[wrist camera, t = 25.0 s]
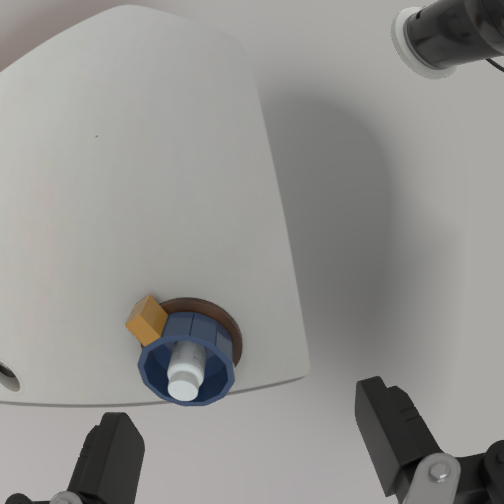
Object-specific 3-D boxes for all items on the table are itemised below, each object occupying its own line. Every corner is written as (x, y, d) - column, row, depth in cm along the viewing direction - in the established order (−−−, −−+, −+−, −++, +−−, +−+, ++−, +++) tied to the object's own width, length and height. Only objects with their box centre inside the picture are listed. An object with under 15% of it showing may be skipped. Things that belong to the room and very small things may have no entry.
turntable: (231, 289, 39) (230, 293, 37) (250, 372, 43) (250, 377, 42) (128, 305, 39) (125, 309, 37) (160, 382, 43) (159, 387, 42)
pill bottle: (173, 361, 39) (164, 401, 32) (173, 335, 38) (162, 375, 30) (205, 365, 40) (201, 406, 32) (207, 339, 38) (202, 380, 31)
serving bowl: (250, 356, 40) (252, 383, 35) (185, 390, 42) (181, 416, 37) (178, 273, 36) (170, 294, 31) (113, 318, 37) (100, 341, 32)
